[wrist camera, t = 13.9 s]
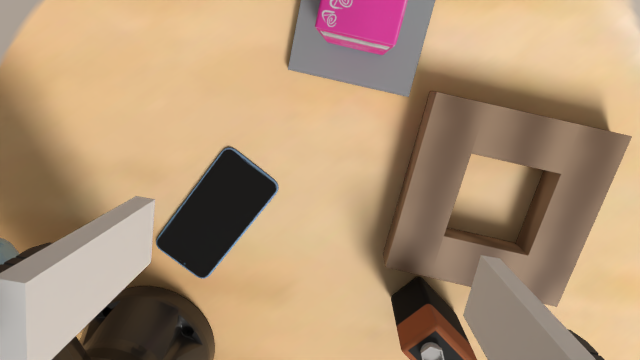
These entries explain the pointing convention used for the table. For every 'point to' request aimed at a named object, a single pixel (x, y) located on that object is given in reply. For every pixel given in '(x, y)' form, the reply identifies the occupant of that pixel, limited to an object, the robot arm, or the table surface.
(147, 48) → the table surface
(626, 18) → the table surface
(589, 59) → the table surface
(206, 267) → the smartphone
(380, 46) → the supplement box
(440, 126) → the holder
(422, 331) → the battery
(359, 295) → the table surface
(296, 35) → the mat
